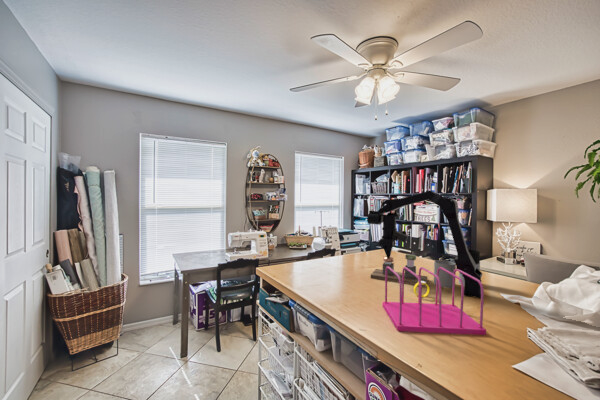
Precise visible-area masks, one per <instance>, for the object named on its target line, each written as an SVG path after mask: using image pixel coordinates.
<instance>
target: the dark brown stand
mask: <svg viewBox="0 0 600 400" xmlns="http://www.w3.org/2000/svg"><path fill="white" fill-rule="evenodd" d="M387 266H389V267H390V268H391V269H393V270H394V271H395V268H394V267H395V264H394V263H393V262H392V265H387V264H385V261H383V262H382V269H381V268H379V269H378V268H375V269H374V271H372V273H370V279H373V280H381V281H385V271H386V267H387ZM404 267H407V264H406V265H405V266H404ZM407 268H408V269H410V270H411V271H412V272H414V273H415V274H416V275H418V276H419V274H417V266H416V265H414V268H409V267H407ZM395 272H396V273H397V274H398V275H399V276H400V278H401V283H402V271H395ZM418 281H419V280H418V278H417V277H416V276H414V275H413V274H412V273H410V272H409V271H408V270H406V269H405V271H404V285H412V286H415V284H416V283H418ZM421 281H424V282H426V284H427V285H428V276H426V275H421ZM387 282H392V283H393V282H394V283H398V284H399V279H398V277H397V276H396V275H395V274H394V273H393V272H392V271H391V270H390V269H388V270H387ZM426 284H425V285H422V288H424V287H425V288H427V286H426ZM417 287H419V285H418V286H417Z"/></svg>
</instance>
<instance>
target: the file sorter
mask: <svg viewBox="0 0 600 400" xmlns="http://www.w3.org/2000/svg"><path fill="white" fill-rule="evenodd" d="M388 269H390V270H391V271H392V272H393V273H394V274H395V275H396V276H397V277H398V279H399V283H398V285H399V301H397V302H396V301H388V281H387V270H388ZM405 269H406V270H408V271H409V272H410V273H412V274H413V275H414V276H416V277H417V278H418V280H419V286H418V294H417V295H418V296H417V297H418V301H417V302H404V299H405V296H404V295H405V284H404V273H405ZM440 269H442V270H444V271H446V272H447V273H449V274H450V275H452V276H453V288H451V289H452V290H451V291H452V295H451V297H452V300H451V304H450V303H449V304H446V303H442V287H441V282H440V279H439V270H440ZM422 270H423V271H425V272H427V273H429V274H430V275H432V276H433V277H434V276H435V277H436V278H437V279H436V285H435V301H434V303H428V302H427V303H423V302H422V301H423V300H422V299H423V297H422V295H423V286H422V284H421V276H422ZM396 272H397V271H395V269H394V270H393V269H391V268H390V267H389V266H387V267H386V271H385V280H384V282H385V283H384V289H385V290H384V293H385V294H384V301H382V308H383V309H384V312H386V314H387V316H388V317H389V319H390V321H391V323H392V325H393V326H394V328H395V329H396V331H397V332H409V333H410V332H411V333H415V332H416V333H428V334H429V333H431V334H436V333H437V334H453V335H454V334H455V335H456V334H457V335H472V336H473V335H477V336H487V329H486V328H485V327H484V326H483V320H484V319H483V318H484V303H485V302H484V300H485V298H484V295H485V294H484V293H485V289H484V284H483V283H482V280H481V281H480V280H478V279H476V278H475V277H473V276H471V275H469V274H467V273H465V272H463V271H461V270H459V269H455V270H454V272H453V273H451V272H449V271H448V270H446V269H444V268H442V267H439V268H438V270H437V275H435V274H434V272H432V271H430V270H429V269H427V268H424V266H423V267H419V269H418V274H417V273H416V274H415V273H414V272H412V271H411V270H410V269H408V268H407V267H405V266H404V267H402V271H401V273H402V283H401V278H400V276H399V275H398V274H397V273H396ZM457 272H461V273H463V274H465V275H467V276H468V277H470V278H472V279H474V280H476V281H477V282H478V283H479V284H480V287H481V298H480V310H479V312H480V313H479V314H480V315H479V322H477V321H476V320H475V319H473V317H472V316H470V315H469V314H467V313H466V312H465V311H464V298H465V295H464V284H463V281H462V280H461V278H459V275H457ZM455 273H456V274H455ZM418 275H419V276H418ZM456 280H458V281H460V283H461V284H460V285H461V289H460V290H461V293H460V294H461V295H460V307H459V306H457V305H456V304H455V288H456ZM438 283H439V286H438Z"/></svg>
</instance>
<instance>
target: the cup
mask: <svg viewBox="0 0 600 400" xmlns="http://www.w3.org/2000/svg"><path fill="white" fill-rule="evenodd" d="M433 263H434V264H433V265H434V266H433V273H434V274H435V275H437V270H438V268H439V267H442V268H444V269H446V270H448V271H449V272H451V273H453V272H454V270H455V269H456V263H455V261H454V262H453V261H450V260H441V259H438V260H437V259H436V260H434V262H433ZM455 275H457V272H456V273H455ZM436 279H437V278H436V277H435V276H433V284H434V286H436ZM439 279H440V282H441V288H444V289H447V288H448V289H453V276H452V275H450V274H449V273H447V272H446V271H444V270H442V269H440V270H439ZM438 287H439V283H438Z"/></svg>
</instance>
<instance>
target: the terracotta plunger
mask: <svg viewBox="0 0 600 400" xmlns="http://www.w3.org/2000/svg"><path fill="white" fill-rule="evenodd" d="M383 262H385V264H387V265H392V263H393V262H394V257H392V256H390V258H387V256H383Z"/></svg>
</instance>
